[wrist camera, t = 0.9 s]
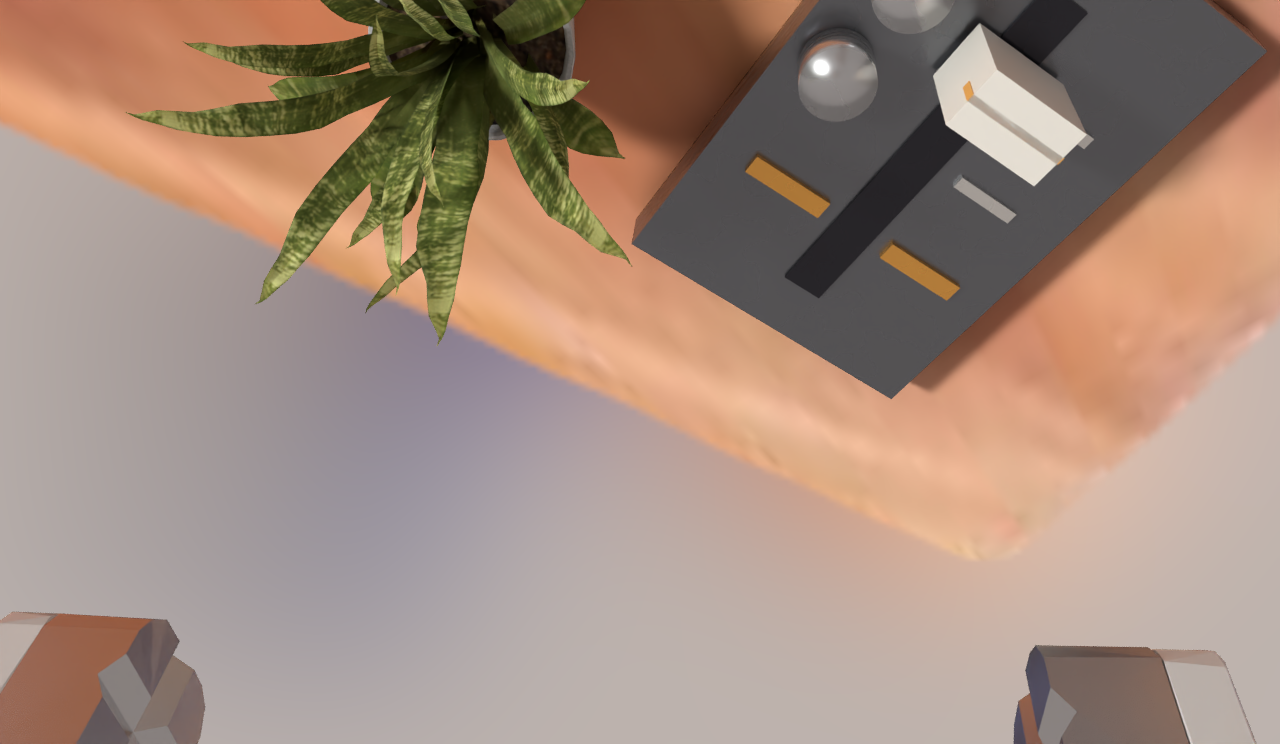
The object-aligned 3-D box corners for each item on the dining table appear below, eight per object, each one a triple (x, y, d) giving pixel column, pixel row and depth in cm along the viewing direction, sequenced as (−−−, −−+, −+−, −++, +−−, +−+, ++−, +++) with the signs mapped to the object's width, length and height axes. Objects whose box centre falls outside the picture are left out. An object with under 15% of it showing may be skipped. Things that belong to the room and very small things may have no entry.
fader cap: (978, 22, 39) (995, 68, 36) (1064, 84, 41) (1087, 135, 37) (932, 74, 41) (944, 124, 38) (1015, 134, 42) (1035, 187, 39)
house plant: (214, -143, 41) (-41, 28, 28) (542, -337, 36) (414, -236, 23) (426, 178, 48) (301, 428, 36) (721, 52, 44) (698, 289, 31)
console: (958, -205, 37) (973, -177, 34) (1248, 29, 41) (1285, 72, 38) (636, 219, 49) (627, 267, 46) (887, 371, 52) (894, 425, 49)
